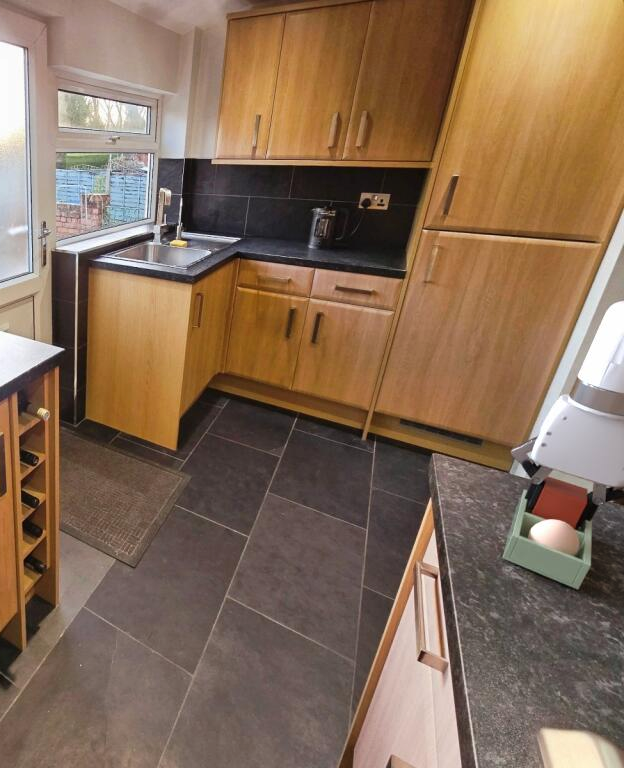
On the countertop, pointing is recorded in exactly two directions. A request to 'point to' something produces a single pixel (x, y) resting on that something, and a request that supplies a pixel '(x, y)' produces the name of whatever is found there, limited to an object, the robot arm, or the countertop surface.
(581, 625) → the countertop surface
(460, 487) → the countertop surface
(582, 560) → the tray
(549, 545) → the egg
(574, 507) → the block
